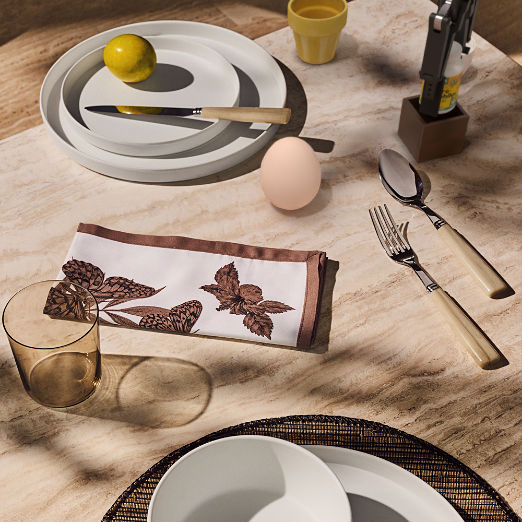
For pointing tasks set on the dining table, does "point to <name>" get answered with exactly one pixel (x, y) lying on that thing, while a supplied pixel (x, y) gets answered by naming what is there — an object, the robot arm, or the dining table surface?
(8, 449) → the dining table surface
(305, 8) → the flower pot
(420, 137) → the brown square planter
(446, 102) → the supplement bottle
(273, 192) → the egg
